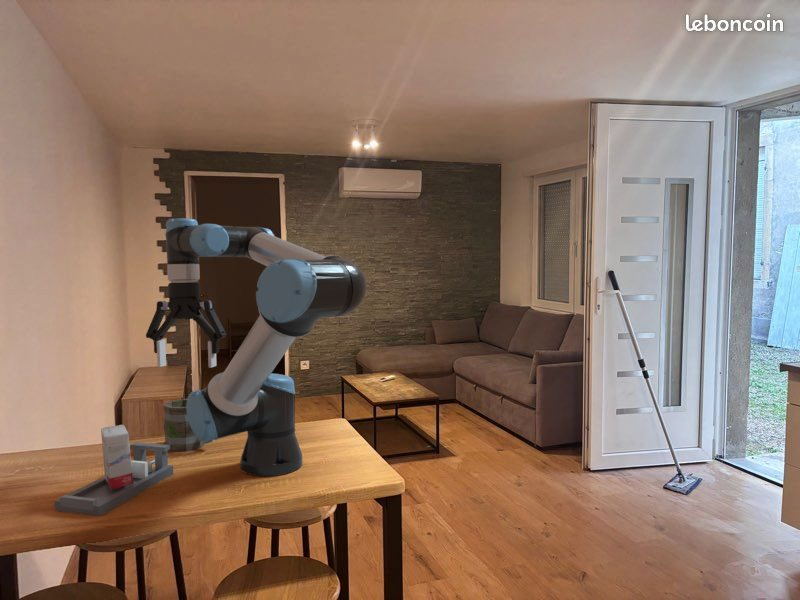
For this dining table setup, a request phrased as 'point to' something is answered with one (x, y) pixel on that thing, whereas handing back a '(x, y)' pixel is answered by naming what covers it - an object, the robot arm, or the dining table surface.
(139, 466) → the pusher
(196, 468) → the dining table surface
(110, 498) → the lane
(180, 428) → the mug
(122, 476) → the ink box
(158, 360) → the robot arm
